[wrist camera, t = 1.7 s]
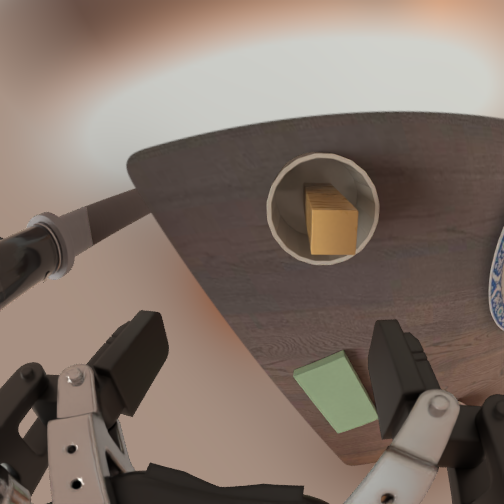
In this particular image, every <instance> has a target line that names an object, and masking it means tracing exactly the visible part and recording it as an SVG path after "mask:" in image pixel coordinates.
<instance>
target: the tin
mask: <svg viewBox="0 0 504 504" xmlns="http://www.w3.org/2000/svg"><path fill="white" fill-rule="evenodd" d="M303 183H331V184H332V185H333V186H334V187H335V188H336V189H337V190H338V191H339V192H340V193H341V194H342V195H343V196H344V197H345V198H346V199H347V200H348V201H349V202H350V203H351V204H352V205H353V206H354V207H355V208H356V209H357V210H358V228H357V242H356V254H357V253H358V252H360V251H361V250H362V249H363V248H364V247H365V245H366V244H367V243H368V242H369V240H370V239H371V238H372V236H373V234H374V231H375V229H376V226H377V223H378V219H379V200H378V196H377V192H376V188H375V186H374V184H373V183H372V181H371V180H370V178H369V176H368V175H367V173H366V172H365V171H364V170H363V169H362V168H360V167H359V166H358V165H357V164H355V163H354V162H353V161H351V160H349V159H347V158H344V157H341V156H339V155H336V154H331V153H325V152H308V153H304V154H301V155H298V156H296V157H294V158H293V159H291V160H290V161H289V162H287V163H286V164H285V165H284V166H283V167H282V169H281V170H280V172H279V173H278V174H277V176H276V178H275V180H274V182H273V184H272V186H271V189H270V193H269V196H268V199H267V221H268V224H269V226H270V229H271V232H272V235H273V237H274V238H275V239H276V241H277V242H278V243H279V245H280V246H281V247H282V249H283V250H284V251H286V252H287V253H289V254H290V255H292V256H293V257H294V258H296V259H298V260H300V261H303V262H307V263H310V264H313V265H332V264H336V263H339V262H342V261H346V260H348V259H349V258H351V257H352V256H354V255H312V254H311V250H310V244H309V238H308V232H307V226H306V221H305V215H304V210H303Z"/></svg>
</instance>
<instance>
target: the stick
mask: <svg viewBox="0 0 504 504" xmlns="http://www.w3.org/2000/svg"><path fill="white" fill-rule="evenodd" d="M303 210H304V215H305V221H306V226H307V232H308V238H309V244H310V250H311V254H312V255H355V254H356V242H357V228H358V210H357V209H356V208H355V207H354V206H353V205H352V204H351V203H350V202H349V201H348V200H347V199H346V198H345V197H344V196H343V195H342V194H341V193H340V192H339V191H338V190H337V189H336V188H335V187H334V186H333V185H332V184H331V183H303Z"/></svg>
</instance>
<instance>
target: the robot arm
mask: <svg viewBox="0 0 504 504" xmlns="http://www.w3.org/2000/svg"><path fill="white" fill-rule="evenodd" d="M62 259H63V256H62V248H61V245H60V242H59V240H58V237H57V236H56V234H55V232H54V231H53V230H52V229H51V228H50V227H49V226H48V225H47V224H45V223H41V222H39V223H36V224H34V225H32V226H31V227H28V228H26V229H24V230H21V231H19V232H17V233H15V234H13V235H11V236H8V237H6V238H4V239H3V238H1V237H0V311H1V310H3V308H5V307H6V306H7V305H9V304H10V303H12V302H13V301H14V300H16V299H17V298H19V297H20V296H21V295H23V294H24V293H25V292H27V291H28V290H30V289H31V288H33V287H34V286H35V285H37V284H38V283H40V282H41V281H43V280H44V279H45V280H44V282H45V281H46V280H47V278H48V277H49V276H50V275H52V274H54V273H56V272H57V271H58V270H59V269H60V267H61V265H62ZM44 282H43V283H44ZM168 351H169V345H168V341H167V337H166V332H165V329H164V324H163V320H162V316H161V314H160V313H159V312H153V311H143V310H141V311H139V312H138V313H137V315H136V316H135V317H134V318H133V319H132V320H131V321H128V322H127V323H125V324H124V325H122V326H120V327H119V328H118V329H117V330H116V331H115V332H114V333H113V335H112V337H110V338H109V339H108V340H107V341H106V343H104V345H103V346H102V347H101V348H100V349H99V350H98V351H97V352H96V354H95V355H94V356H93V357H92V358H91V360H90V361H89V362H88V363H87V364H86V365H85V364H76V365H72V366H70V367H68V368H66V369H65V370H63V371H62V373H61V374H60V375H46V373H45V371H44V369H43V368H42V366H41V365H40V364H39V363H34V362H32V363H27V364H25V365H23V366H21V367H20V368H19V369H18V370H17V371H16V372H15V373H14V374H13V375H12V376H11V377H10V378H9V380H8V381H7V382H6V383H5V384H4V385H3V386H2V388H1V389H0V504H33V503H31V496H32V494H33V492H34V490H35V489H36V487H37V485H38V483H39V481H40V480H41V478H42V476H43V474H44V473H45V471H46V469H47V467H48V466H49V477H50V487H51V494H52V502H50V503H47V504H329V503H327V502H325V501H323V500H321V499H318V498H315V497H312V496H308V495H304V494H303V490H304V486H292V485H271V484H258V485H248V486H235V487H219V486H216V485H213V484H211V483H208V482H206V481H204V480H201V479H199V478H197V477H195V476H193V475H190V474H188V473H186V472H184V471H180V470H175V469H172V468H168V467H164V466H160V465H157V464H153V463H150V464H149V466H148V468H147V470H146V471H135V470H134V468H133V466H132V464H131V462H130V459H129V456H128V453H127V449H126V445H125V441H124V437H123V433H122V429H121V425H120V422H119V420H118V417H119V416H120V414H124V415H127V416H131V417H133V415H134V413H135V411H136V410H137V408H138V406H139V405H140V403H141V401H142V400H143V398H144V396H145V394H146V393H147V391H148V389H149V388H150V386H151V384H152V383H153V381H154V379H155V377H156V376H157V374H158V372H159V371H160V369H161V367H162V366H163V364H164V362H165V361H166V359H167V356H168ZM423 351H424V350H423V348H422V346H421V344H420V342H419V340H418V339H417V338H415V337H414V336H413V335H412V334H411V333H410V332H409V333H403V331H402V329H401V327H400V324H399V322H398V320H396V319H395V320H377V321H376V323H375V326H374V331H373V336H372V341H371V346H370V350H369V355H368V370H369V374H370V379H371V384H372V388H373V393H374V398H375V403H376V409H377V414H378V419H379V425H380V431H381V437H382V440H383V439H391V438H392V439H393V441H392V443H391V444H390V446H388V447H387V449H386V450H385V451H384V453H383V454H382V456H381V457H380V458H379V460H378V461H377V463H376V464H375V465H374V467H373V468H372V469H371V471H370V472H369V473H368V475H367V476H366V477H365V478H364V480H363V481H362V482H361V483H360V485H359V486H358V487H357V488H356V490H355V491H354V492H353V493H352V494H351V495H350V497H349V498H348V499H347V500H346V501H345V502H344V503H343V504H420V503H421V502H422V500H423V498H424V497H425V495H426V493H427V491H428V490H429V488H430V486H431V484H432V482H433V480H434V478H435V476H436V474H437V472H438V469H439V467H447V471H448V476H449V482H450V489H451V496H452V504H504V395H500V394H496V395H492V396H490V397H488V398H487V399H486V400H485V402H484V403H483V405H482V406H468V405H460V404H459V402H458V400H457V399H456V398H455V396H454V395H452V394H451V393H449V392H448V391H445V390H442V389H441V388H440V386H439V384H438V381H437V379H436V377H435V374H434V372H433V370H432V368H431V365H430V363H429V361H427V357H426V354H425V352H423ZM31 408H32V409H33V411H34V412H35V414H36V415H37V416H38V418H37V419H36V421H35V422H34V424H33V425H32V426H31V428H30V429H29V431H28V432H27V434H26V435H25V436H24V438H23V439H22V438H21V436H20V435H19V432H18V427H19V424H20V422H21V421H22V419H23V418H24V417H25V415H26V414H27V413H28V411H29V410H30V409H31Z"/></svg>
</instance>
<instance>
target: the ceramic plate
mask: <svg viewBox="0 0 504 504" xmlns="http://www.w3.org/2000/svg"><path fill="white" fill-rule="evenodd" d="M488 293H489V306H490V311H491V314H492V317H493V319H494V321H495V323H496V324H497V325H498V327H499V328H501V329H502V330H504V227H503V230H502V233H501V235H500V238H499V241H498V244H497V247H496V250H495V253H494V257H493V261H492V266H491V271H490V278H489V290H488Z"/></svg>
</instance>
